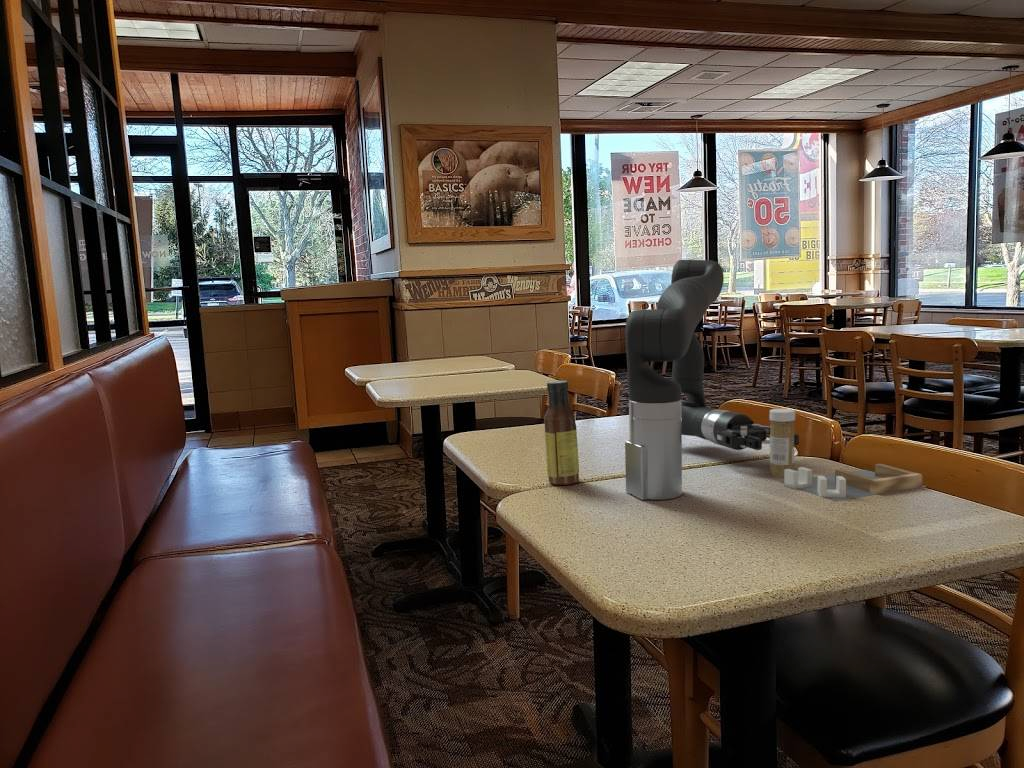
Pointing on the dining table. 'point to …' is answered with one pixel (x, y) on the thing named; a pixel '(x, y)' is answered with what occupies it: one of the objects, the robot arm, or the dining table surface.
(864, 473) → the board
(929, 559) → the dining table surface
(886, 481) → the end holder
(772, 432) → the sprinkles bottle
